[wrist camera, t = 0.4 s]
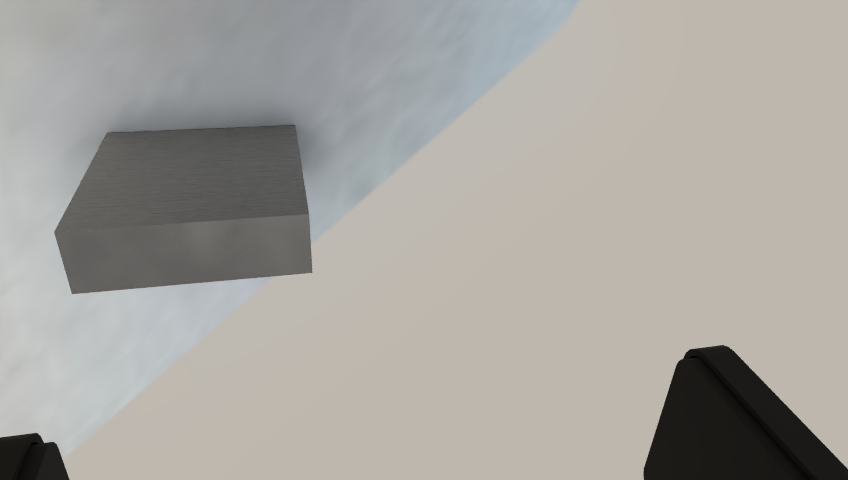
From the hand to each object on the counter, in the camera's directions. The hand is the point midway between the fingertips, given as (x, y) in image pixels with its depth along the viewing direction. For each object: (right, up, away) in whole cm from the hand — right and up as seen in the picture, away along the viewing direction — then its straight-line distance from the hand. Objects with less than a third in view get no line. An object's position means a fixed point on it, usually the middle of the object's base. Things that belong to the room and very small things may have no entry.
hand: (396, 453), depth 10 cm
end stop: (-12, +8, +27) cm, 30 cm away
